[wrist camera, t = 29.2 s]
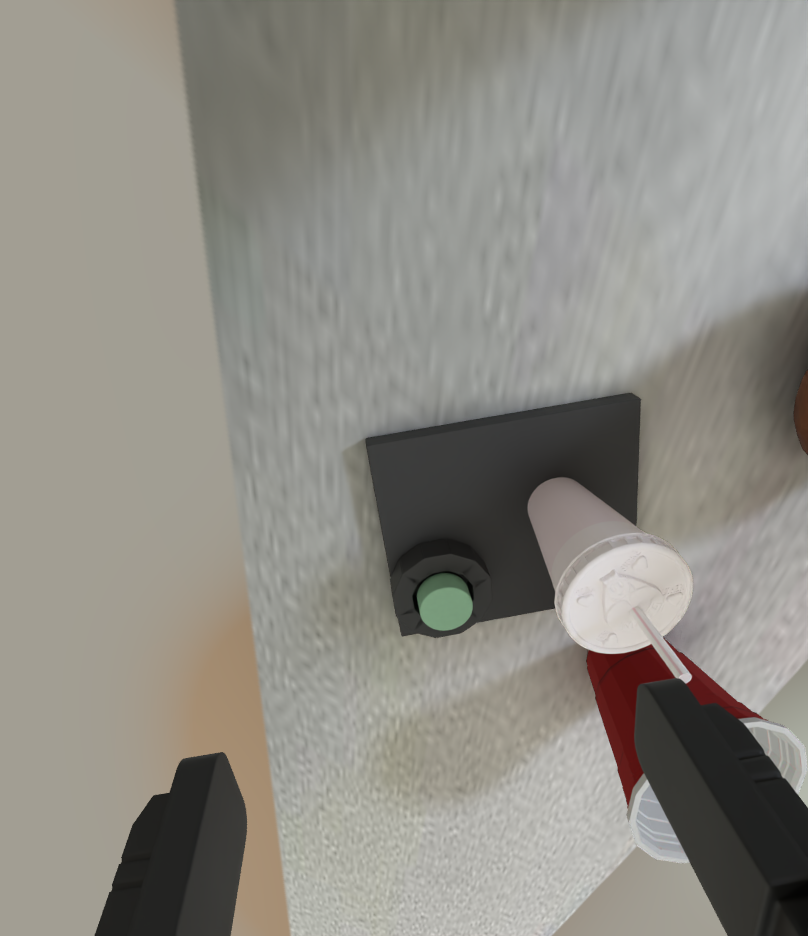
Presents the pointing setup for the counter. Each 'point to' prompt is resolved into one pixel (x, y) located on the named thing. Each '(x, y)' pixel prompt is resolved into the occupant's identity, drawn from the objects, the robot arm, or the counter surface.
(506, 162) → the counter surface
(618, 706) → the plastic cup
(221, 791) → the robot arm
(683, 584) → the smoothie
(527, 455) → the scale
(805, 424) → the butternut squash
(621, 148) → the counter surface
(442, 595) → the button
